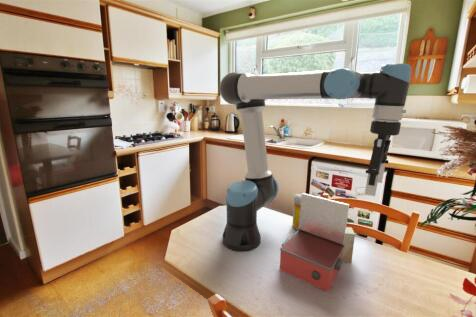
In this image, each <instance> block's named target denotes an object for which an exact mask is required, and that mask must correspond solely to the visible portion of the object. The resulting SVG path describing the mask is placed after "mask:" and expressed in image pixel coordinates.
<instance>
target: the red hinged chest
mask: <svg viewBox="0 0 476 317" xmlns="http://www.w3.org/2000/svg"><path fill="white" fill-rule="evenodd" d="M343 249H344V245H340V244H337V243H334V242H331V241H328V240H325V239H323V238H320V237H317V236H314V235H311V234H308V233H305V232H302V231H299V230H298V229H296V232H294V233H293V234H292V235H291V236H290V238H286V239H285V240H284V241H283V243H281V247H279V251H280V256H279V257H280V259H279V270H280V271H281V272H284V273H285V274H288V275H290V276H292V277H294V278H297V279H299V280H301V281H304V282H305V283H307V284H309V285H312V286H315V287H317V288H319V289H321V290H323V291H325V292H328V293H329V292H330V290H331V288H332V286H333V283H334V281H335V280H336V278H337V276H338V274H339V272H341V271H340V270H341V269H342V267H343V264H344V262H343V259H342V256H343Z"/></svg>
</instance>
